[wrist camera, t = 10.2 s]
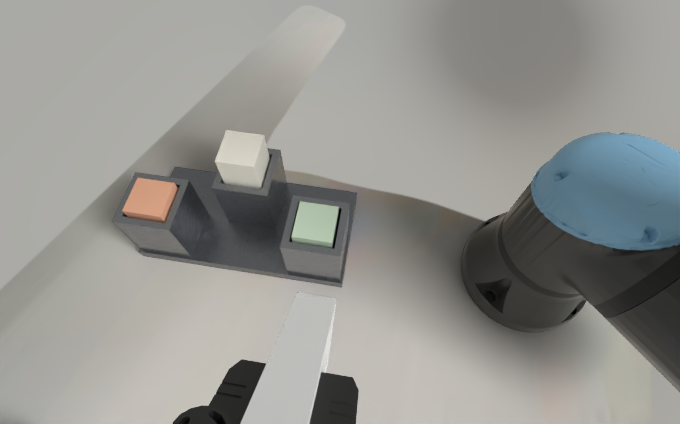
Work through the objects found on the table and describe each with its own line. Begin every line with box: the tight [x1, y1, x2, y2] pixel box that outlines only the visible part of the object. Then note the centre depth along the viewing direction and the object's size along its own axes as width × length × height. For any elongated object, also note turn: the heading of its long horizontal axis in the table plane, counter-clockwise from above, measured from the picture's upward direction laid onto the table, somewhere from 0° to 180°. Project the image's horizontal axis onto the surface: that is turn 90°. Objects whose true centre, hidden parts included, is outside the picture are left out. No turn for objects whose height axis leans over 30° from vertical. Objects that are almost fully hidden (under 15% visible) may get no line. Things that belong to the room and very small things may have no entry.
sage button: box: [291, 201, 339, 249], centre depth 48 cm, size 4×4×8 cm
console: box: [112, 148, 357, 287], centre depth 51 cm, size 26×13×10 cm, turn 81°
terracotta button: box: [122, 178, 178, 223], centre depth 49 cm, size 4×4×8 cm
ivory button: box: [215, 130, 270, 189], centre depth 49 cm, size 4×4×8 cm
